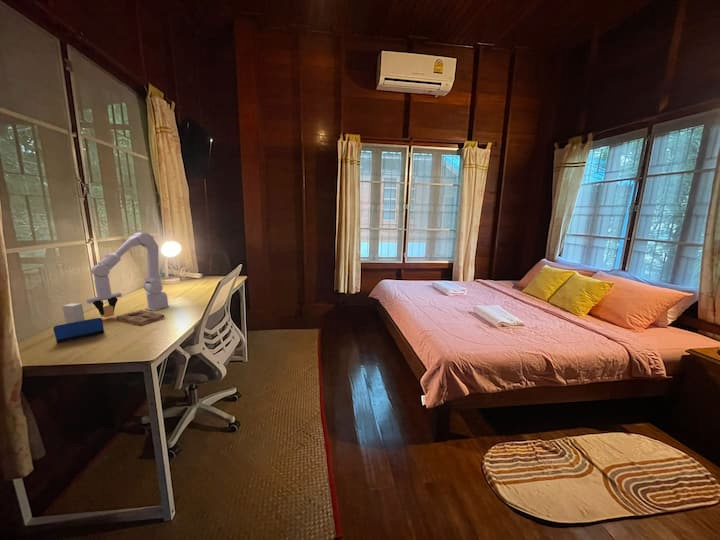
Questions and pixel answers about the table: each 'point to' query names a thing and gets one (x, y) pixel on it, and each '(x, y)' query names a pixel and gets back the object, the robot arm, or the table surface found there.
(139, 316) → the socket block
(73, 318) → the skincare box
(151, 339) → the table surface
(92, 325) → the blue box
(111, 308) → the square bit
